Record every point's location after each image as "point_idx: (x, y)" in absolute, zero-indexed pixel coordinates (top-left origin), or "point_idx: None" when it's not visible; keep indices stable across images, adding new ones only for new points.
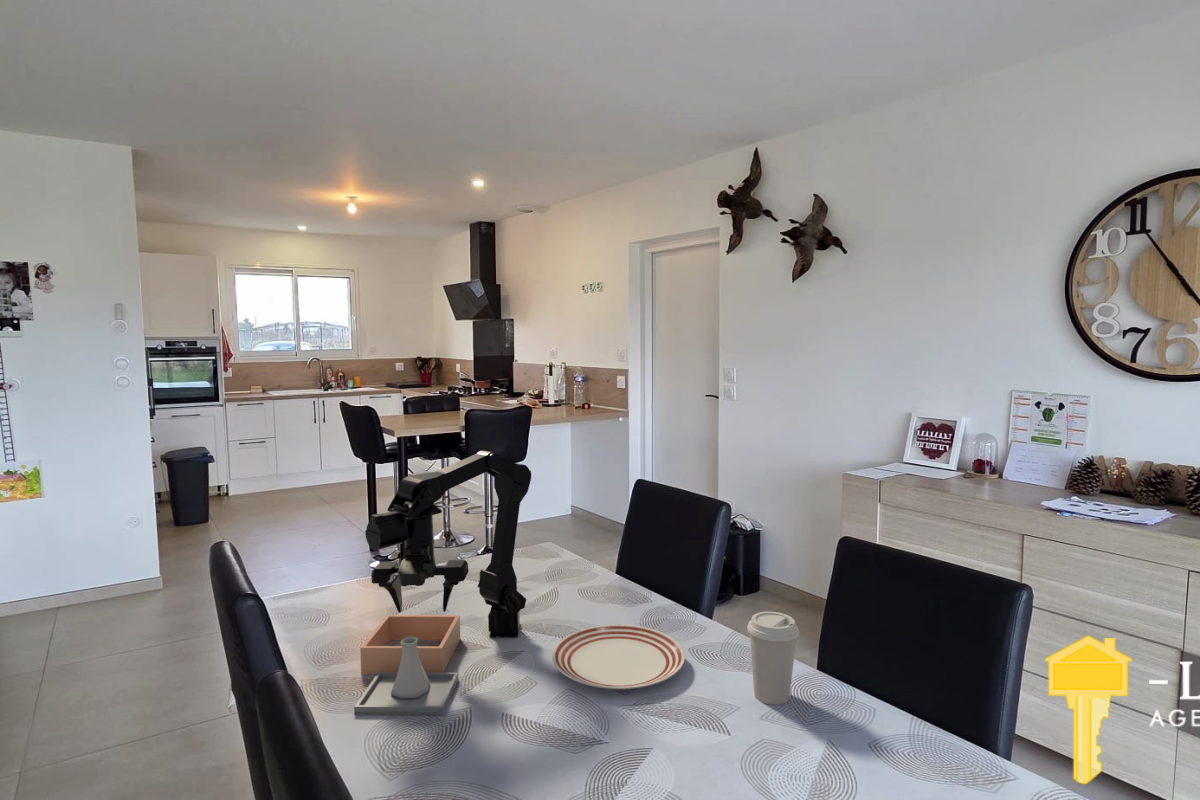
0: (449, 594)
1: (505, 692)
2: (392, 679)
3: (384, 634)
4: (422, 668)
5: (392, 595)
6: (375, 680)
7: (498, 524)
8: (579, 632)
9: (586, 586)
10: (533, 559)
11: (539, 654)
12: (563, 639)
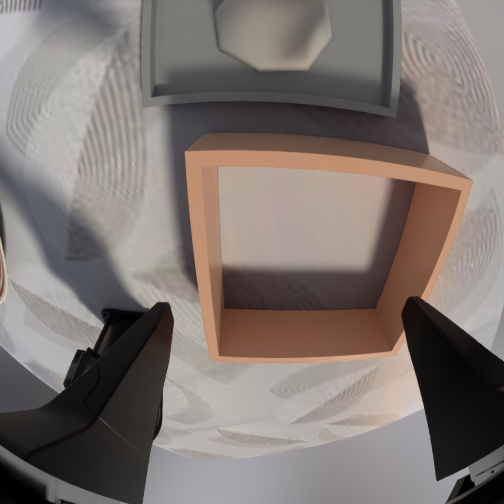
0: (80, 377)
1: (41, 76)
2: (348, 91)
3: (396, 302)
4: (232, 18)
5: (489, 358)
6: (393, 68)
7: None
8: (2, 290)
9: None
10: (196, 450)
11: (39, 244)
12: (4, 267)
